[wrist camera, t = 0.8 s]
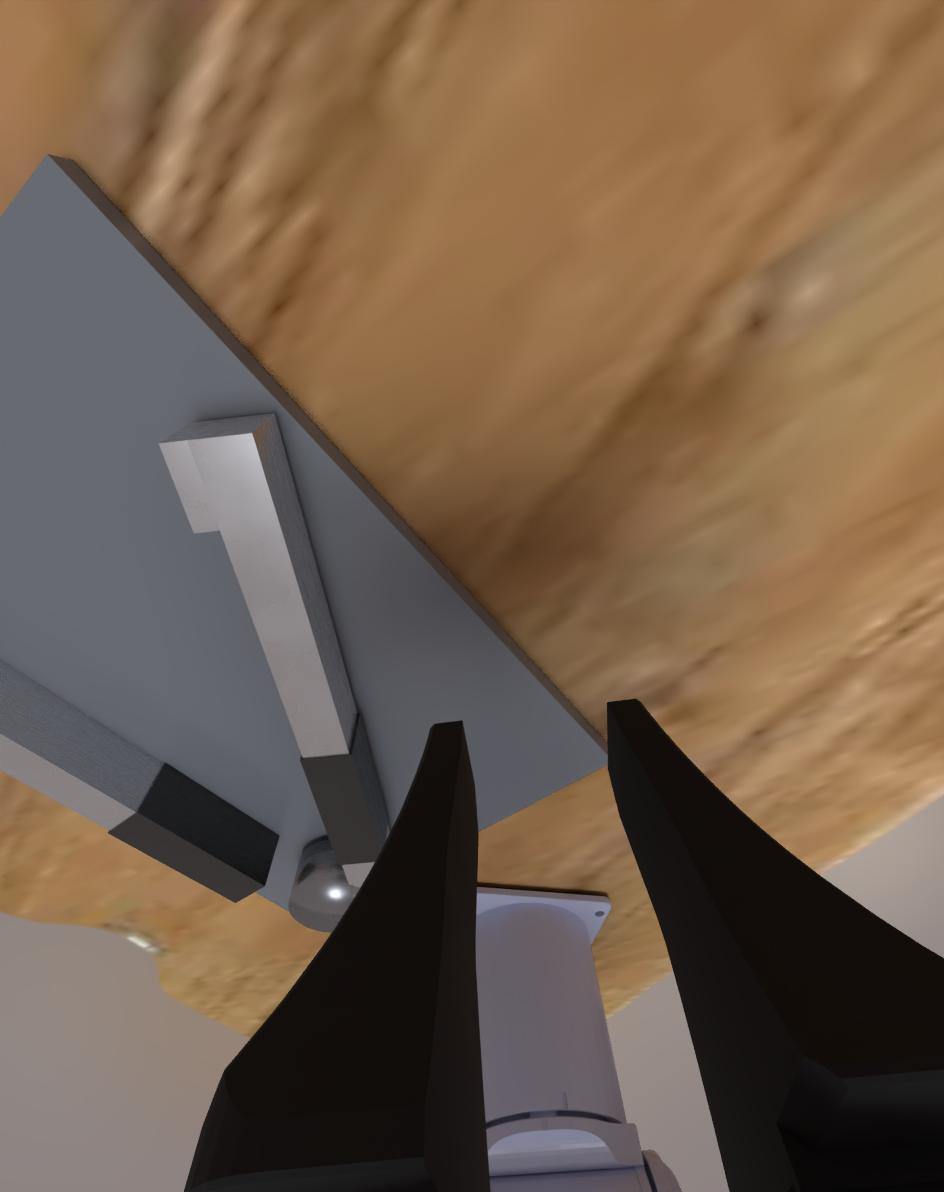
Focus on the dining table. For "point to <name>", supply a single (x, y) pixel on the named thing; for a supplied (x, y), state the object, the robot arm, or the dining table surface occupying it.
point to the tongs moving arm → (289, 643)
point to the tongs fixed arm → (129, 790)
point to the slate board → (219, 548)
